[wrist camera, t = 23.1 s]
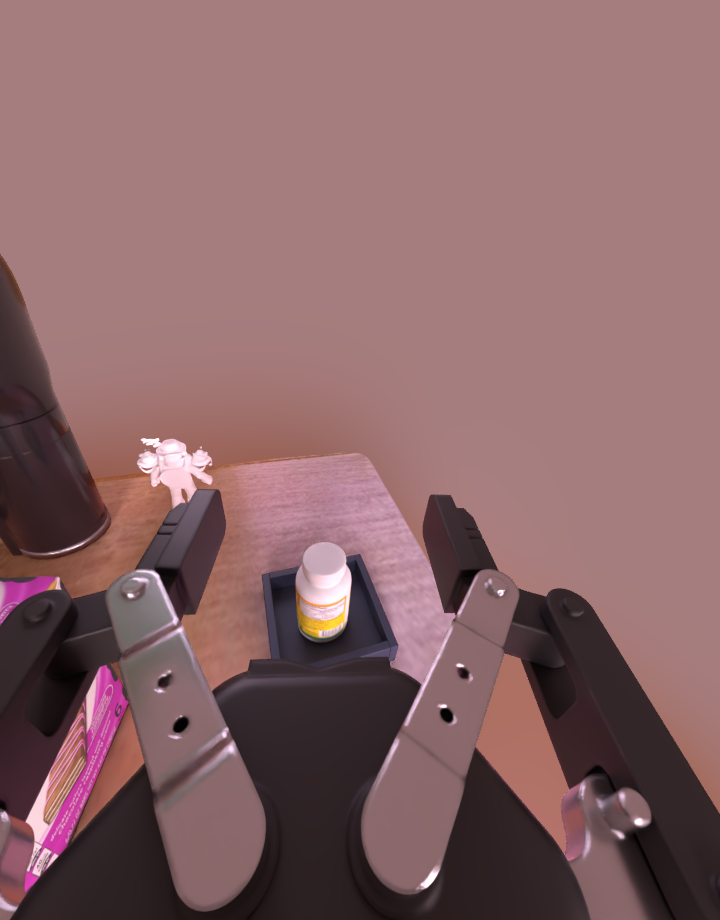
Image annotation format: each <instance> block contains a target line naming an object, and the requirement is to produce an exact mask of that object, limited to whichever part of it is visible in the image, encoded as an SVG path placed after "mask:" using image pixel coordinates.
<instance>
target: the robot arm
mask: <svg viewBox="0 0 720 920" xmlns="http://www.w3.org/2000/svg"><path fill="white" fill-rule="evenodd" d="M110 521H111V517H110V514H109V512H108V510H107V508H106V507H105V504H104V503H103V501H102V499H101V496H100V494H99V491H98V489H97V487H96V485H95V482H94V480H93V478H92V476H91V474H90V471H89V469H88V467H87V465H86V462H85V460H84V458H83V456H82V454H81V451H80V449H79V447H78V445H77V442H76V440H75V438H74V436H73V434H72V431H71V429H70V426H69V425H68V422H67V420H66V418H65V415H64V413H63V411H62V409H61V406H60V404H59V402H58V399H57V397H56V395H55V392H54V390H53V386H52V382H51V376H50V372H49V367H48V364H47V361H46V359H45V356H44V353H43V351H42V348H41V346H40V343H39V341H38V338H37V336H36V333H35V330H34V327H33V324H32V321H31V319H30V316H29V313H28V310H27V307H26V304H25V301H24V299H23V296H22V294H21V291H20V289H19V286H18V284H17V282H16V280H15V278H14V276H13V274H12V272H11V270H10V268H9V267H8V265H7V263H6V262H5V260H4V259H3V257H2V256H1V255H0V538H1V539H2V541H3V542H4V543H5V545H6V546H7V548H8V549H9V551H10V552H11V553H12V555H22V554H23V555H25V556H27V557H29V558H33V559H51V558H57V557H61V556H65V555H68V554H71V553H74V552H76V551H78V550H81V549H83V548H85V547H86V546H88V545H90V544H91V543H93V542H94V541H96V540H97V539H98V538H99V537H101V536H102V535H103V534H104V532H105V531H106V530H107V528H108V527H109V525H110ZM225 529H226V520H225V514H224V509H223V504H222V499H221V494H220V491H219V490H217V489H197V490H196V491H195V492H194V494H193V496H192V498H191V499H190V501H189V503H180V504H179V505H177V506H176V507H175V508H174V509H172V510H171V511H170V512H169V513H168V515H167V517H166V518H165V520H164V522H163V523H162V526H161V527H160V528H159V530H158V532H157V535H155V537H154V538H153V540H152V542H151V543H150V545H149V547H148V548H147V550H146V552H145V554H144V555H143V557H142V559H141V560H140V562H139V564H138V565H137V567H136V569H135V570H134V571H131V572H128V573H126V574H124V575H122V576H121V577H119V578H118V579H116V580H115V581H114V582H113V583H112V584H111V585H110V587H109V588H108V590H105V591H101V592H98V593H94V594H90V595H86V596H82V597H78V598H74V599H72V598H71V596H70V595H69V593H68V592H66V591H64V590H60V589H53V590H47V591H43V592H40V593H37V594H35V595H33V596H31V597H29V598H27V599H25V600H24V601H22V602H21V603H20V604H18V605H17V606H16V607H15V608H14V609H13V610H12V611H11V612H10V613H9V614H8V616H7V617H6V618H5V619H4V621H3V622H2V623H1V625H0V920H720V814H719V812H718V811H717V809H716V807H715V806H714V804H713V803H712V801H711V799H710V798H709V796H708V794H707V793H706V791H705V790H704V788H703V786H702V785H701V783H700V781H699V780H698V778H697V777H696V775H695V773H694V772H693V770H692V769H691V767H690V765H689V764H688V762H687V760H686V759H685V757H684V755H683V754H682V752H681V751H680V749H679V747H678V746H677V744H676V742H675V741H674V739H673V738H672V736H671V734H670V733H669V731H668V730H667V728H666V726H665V725H664V723H663V721H662V720H661V718H660V716H659V715H658V713H657V712H656V710H655V708H654V707H653V705H652V704H651V702H650V700H649V699H648V697H647V695H646V694H645V692H644V691H643V689H642V687H641V686H640V684H639V682H638V681H637V679H636V678H635V676H634V674H633V673H632V671H631V669H630V668H629V666H628V665H627V663H626V661H625V660H624V658H623V656H622V655H621V653H620V652H619V650H618V648H617V647H616V645H615V643H614V642H613V640H612V639H611V637H610V635H609V634H608V632H607V630H606V629H605V627H604V626H603V624H602V622H601V621H600V619H599V617H598V616H597V614H596V613H595V611H594V609H593V608H592V607H591V605H590V604H589V603H588V602H587V601H586V600H585V599H584V598H582V597H581V596H579V595H578V594H576V593H574V592H572V591H570V590H566V589H561V588H560V589H553V590H551V591H550V592H549V593H548V595H547V596H546V597H545V596H542V595H538V594H534V593H531V592H527V591H524V590H521V589H519V588H517V586H516V584H515V583H514V582H513V581H512V579H510V578H509V577H508V576H507V575H505V574H504V573H502V572H499V571H498V569H497V567H496V565H495V562H494V560H493V558H492V556H491V554H490V552H489V550H488V548H487V546H486V544H485V541H484V539H482V535H481V533H480V531H479V530H478V527H477V525H476V522H475V520H474V518H473V517H472V516H471V515H470V514H469V513H468V512H467V511H466V510H465V509H464V508H456V506H455V503H454V501H453V499H452V497H451V495H430V497H429V501H428V505H427V509H426V513H425V517H424V522H423V538H424V542H425V546H426V549H427V553H428V556H429V559H430V563H431V567H432V570H433V574H434V577H435V581H436V584H437V588H438V591H439V595H440V598H441V602H442V606H443V609H444V613H455V615H456V617H455V619H453V621H452V623H451V625H450V627H449V629H448V631H447V633H446V636H445V638H444V640H443V642H442V644H441V646H440V648H439V650H438V652H437V654H436V656H435V658H434V660H433V663H432V665H431V667H430V669H429V671H428V673H427V675H426V677H425V679H424V681H423V683H422V685H421V684H420V683H419V682H418V681H417V680H415V679H414V678H412V677H411V676H409V675H408V674H406V673H404V672H402V671H399V670H397V669H394V668H390V661H389V657H355V658H352V659H349V660H346V661H342V662H339V663H336V664H332V665H329V666H326V667H320V668H319V667H314V666H310V665H307V664H303V663H299V662H295V661H291V660H287V659H258V660H250V663H249V668H248V671H246V672H243V673H241V674H238V675H236V676H234V677H232V678H230V679H228V680H227V681H225V682H223V683H222V684H221V685H219V686H218V687H216V688H215V689H214V690H213V691H211V689H210V687H209V684H208V682H207V680H206V678H205V675H204V673H203V671H202V669H201V666H200V664H199V662H198V660H197V657H196V655H195V653H194V651H193V648H192V646H191V644H190V642H189V639H188V637H187V635H186V633H185V630H184V628H183V626H182V624H181V619H182V617H183V615H190V614H196V611H197V609H198V606H199V603H200V600H201V598H202V595H203V592H204V590H205V587H206V584H207V581H208V579H209V576H210V573H211V571H212V568H213V565H214V562H215V560H216V557H217V554H218V551H219V549H220V546H221V543H222V541H223V538H224V535H225ZM504 653H505V654H509V655H512V656H515V657H518V658H521V661H522V664H523V666H524V669H525V672H526V674H527V677H528V680H529V682H530V685H531V688H532V690H533V693H534V696H535V699H536V701H537V704H538V707H539V709H540V712H541V715H542V717H543V720H544V723H545V725H546V728H547V731H548V733H549V736H550V739H551V741H552V744H553V747H554V749H555V752H556V754H557V757H558V760H559V763H560V765H561V768H562V771H563V773H564V776H565V779H566V781H567V784H568V787H569V791H568V792H566V794H565V795H564V797H563V799H562V804H561V814H562V820H563V824H564V829H565V833H566V851H565V855H564V853H563V852H562V850H561V849H560V847H559V846H558V844H557V843H556V841H555V840H554V839H553V837H552V836H551V835H550V834H549V833H548V831H547V830H546V829H545V828H544V827H543V826H542V824H541V823H540V822H539V821H538V820H537V819H536V817H535V816H534V815H533V814H532V813H531V811H530V810H529V809H528V808H527V807H526V806H525V804H524V803H523V802H522V801H521V800H520V799H519V797H518V796H517V795H516V794H515V793H514V792H513V790H511V788H510V787H509V786H508V784H507V783H506V782H505V781H504V780H503V779H502V777H501V776H500V775H499V774H498V773H497V771H496V770H495V769H494V768H493V767H492V766H491V764H490V763H489V762H488V761H487V760H486V759H485V757H484V756H483V755H482V754H481V753H480V752H479V750H478V749H477V748H476V747H475V746H476V743H477V740H478V737H479V734H480V730H481V727H482V724H483V720H484V717H485V714H486V711H487V707H488V704H489V701H490V698H491V695H492V692H493V689H494V685H495V682H496V679H497V676H498V672H499V669H500V666H501V663H502V660H503V656H504ZM117 661H118V665H119V669H120V672H121V676H122V680H123V683H124V687H125V691H126V695H127V698H128V702H129V706H130V710H131V713H132V717H133V721H134V724H135V728H136V732H137V736H138V739H139V743H140V747H141V750H142V754H143V758H144V762H145V763H144V764H143V765H142V766H141V767H140V768H139V770H138V771H137V772H136V773H135V774H134V775H133V776H132V777H131V778H130V779H129V780H128V781H127V782H126V784H125V785H124V786H123V787H122V788H121V789H120V790H119V791H118V792H117V793H116V794H115V795H114V797H113V798H112V799H111V800H110V801H109V802H108V803H107V804H106V805H105V806H104V807H103V808H102V809H101V811H100V812H99V813H98V814H97V815H96V816H95V817H94V818H93V819H92V820H91V821H90V822H89V824H88V825H87V826H86V827H85V828H84V829H83V830H82V831H81V832H80V833H79V834H78V835H77V836H76V838H75V839H74V840H73V841H72V842H71V843H70V844H69V845H68V846H67V847H66V848H65V849H64V850H63V852H62V853H61V854H60V855H59V856H58V857H57V858H56V859H55V860H54V861H53V862H52V863H51V865H50V866H49V867H48V868H47V869H46V870H45V871H44V872H43V873H42V874H41V876H40V877H39V878H38V879H37V880H36V882H35V883H34V884H33V886H32V887H31V888H30V890H29V891H28V892H27V894H26V895H25V877H26V872H27V869H28V866H29V863H30V860H31V857H32V854H33V849H34V843H35V837H34V831H33V829H32V827H31V826H30V825H29V824H28V823H26V820H27V818H28V816H29V814H30V812H31V810H32V808H33V805H34V803H35V801H36V799H37V797H38V795H39V793H40V791H41V789H42V787H43V785H44V783H45V781H46V778H47V776H48V774H49V772H50V770H51V768H52V766H53V764H54V762H55V760H56V758H57V756H58V754H59V751H60V749H61V747H62V745H63V743H64V741H65V739H66V737H67V735H68V733H69V731H70V729H71V726H72V724H73V722H74V720H75V718H76V716H77V714H78V712H79V710H80V708H81V706H82V704H83V702H84V699H85V697H86V695H87V693H88V691H89V689H90V687H91V685H92V683H93V681H94V679H95V677H96V674H97V672H98V670H99V668H100V667H102V666H105V665H108V664H111V663H114V662H117Z"/></svg>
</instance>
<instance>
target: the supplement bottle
mask: <svg viewBox="0 0 720 920" xmlns="http://www.w3.org/2000/svg"><path fill="white" fill-rule="evenodd" d="M351 580H352V579H351V573H350V570H349V568H348V566H347V565H346V555H345V553H344V551H343V550H342V548H340V547H339V546H338V545H336V544H333V543H330V542H319V543H315V544H313V545H311V546H310V547H308V548H307V549H306V551H305V552H304V554H303V558H302V565H301V566H300V568H299V569H298V572H297V574H296V605H297V621H298V627H299V629H300V631H301V633H302V634H303V635H304V636H305V637H306V638H307V639H309V640H311V641H314V642H317V643H325V642H329V641H332V640H334V639H336V638H337V637H339V636H340V635H341V634H342V632H343V631H344V629H345V627H346V625H347V621H348V612H349V601H350V591H351Z"/></svg>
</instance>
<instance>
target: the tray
mask: <svg viewBox="0 0 720 920" xmlns="http://www.w3.org/2000/svg"><path fill="white" fill-rule="evenodd" d="M346 565H347V566H348V568H349V570H350V573H351V579H352V580H351V591H350V601H349V612H348V621H347V625H346V627H345V629H344V631H343V632H342V634H341V635H340V636H339V637H337V638H336V639H334V640H332V641H329V642H325V643H317V642H314V641H311V640H309V639H307V638H306V637H305V636H304V635H303V634H302V633H301V631H300V629H299V627H298V621H297V605H296V574H297V572H298V569H299V568H300V567H295V568H290V569H285V570H281V571H276V572H271V573H267V574H262V581H263V590H264V599H265V608H266V617H267V626H268V635H269V643H270V652H271V659H287V660H291V661H295V662H299V663H303V664H307V665H310V666H314V667H319V668H320V667H326V666H329V665H332V664H336V663H339V662H342V661H346V660H349V659H352V658H355V657H389V661H391V660H395V656H396V653H397V649H398V644H397V641H396V639H395V636H394V634H393V632H392V629H391V627H390V624H389V622H388V620H387V617H386V615H385V612H384V610H383V608H382V605H381V603H380V600H379V598H378V596H377V593H376V591H375V588H374V586H373V583H372V581H371V579H370V576H369V574H368V571H367V569H366V567H365V564H364V562H363V559H362V557H361V555H360V554H358V555H353V556H348V557H346Z"/></svg>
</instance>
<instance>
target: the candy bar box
mask: <svg viewBox="0 0 720 920" xmlns="http://www.w3.org/2000/svg"><path fill="white" fill-rule="evenodd" d="M53 589H60V590H64V591H66V592H67V590H66V588H65V587H64V585H63V583H62V582H61V580H60V577H20V578H1V577H0V625H1V623H2V622H3V621H4V619H5V618H6V617H7V616H8V614H9V613H10V612H11V611H12V610H13V609H14V608H15V607H16V606H17V605H18V604H20V603H21V602H22V601H24V600H25V599H27V598H29V597H31V596H33V595H35V594H37V593H40V592H43V591H47V590H53ZM128 703H129V702H128V698H127V695H126V691H125V688H124V686H123V685H122V683H121V681H120V680H119V678H118V676H117V675H116V673H115V671H114V670H113V668H112V666H111V665H110V664H108V665H105V666H102V667H100V668H99V670H98V672H97V674H96V677H95V679H94V681H93V683H92V685H91V687H90V689H89V691H88V693H87V695H86V697H85V699H84V702H83V704H82V706H81V708H80V710H79V712H78V714H77V716H76V718H75V720H74V722H73V724H72V726H71V729H70V731H69V733H68V735H67V737H66V739H65V741H64V743H63V745H62V747H61V749H60V751H59V754H58V756H57V758H56V760H55V762H54V764H53V766H52V768H51V770H50V772H49V774H48V776H47V778H46V781H45V783H44V785H43V787H42V789H41V791H40V793H39V795H38V797H37V799H36V801H35V803H34V805H33V808H32V810H31V812H30V814H29V816H28V818H27V820H26V823H28V824H29V825H30V826H31V827H32V829H33V831H34V837H35V843H34V849H33V854H32V857H31V860H30V863H29V866H28V869H27V872H26V877H25V895H26V894H27V892H28V891H29V890H30V888H31V887H32V886H33V884H34V883H35V882H36V880H37V879H38V878H39V877H40V876H41V874H42V873H43V872H44V871H45V870H46V869H47V868H48V867H49V866H50V865H51V863H52V862H53V861H54V860H55V859H56V858H57V857H58V856H59V855H60V854H61V853H62V852H63V850H64V849H65V848H66V847H67V846H68V845H69V843H70V841H71V838H72V836H73V833H74V831H75V828H76V826H77V824H78V821H79V819H80V816H81V814H82V812H83V809H84V807H85V804H86V802H87V799H88V797H89V795H90V793H91V790H92V788H93V786H94V783H95V781H96V778H97V776H98V774H99V771H100V769H101V767H102V764H103V762H104V759H105V757H106V755H107V752H108V750H109V747H110V745H111V743H112V740H113V738H114V736H115V733H116V731H117V729H118V726H119V724H120V721H121V719H122V717H123V715H124V712H125V710H126V707H127V705H128Z"/></svg>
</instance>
